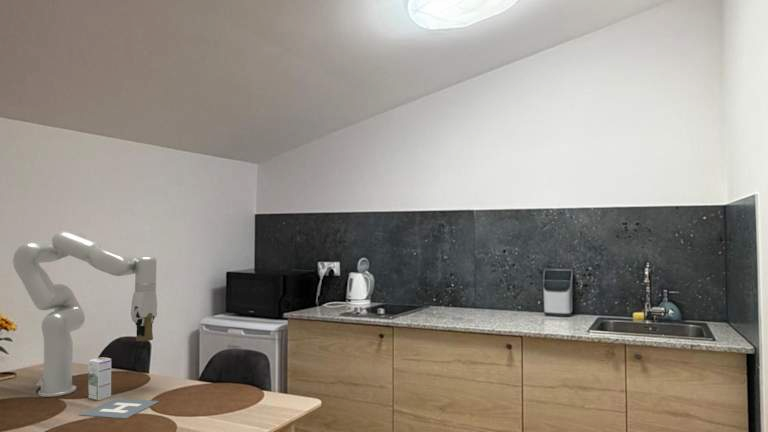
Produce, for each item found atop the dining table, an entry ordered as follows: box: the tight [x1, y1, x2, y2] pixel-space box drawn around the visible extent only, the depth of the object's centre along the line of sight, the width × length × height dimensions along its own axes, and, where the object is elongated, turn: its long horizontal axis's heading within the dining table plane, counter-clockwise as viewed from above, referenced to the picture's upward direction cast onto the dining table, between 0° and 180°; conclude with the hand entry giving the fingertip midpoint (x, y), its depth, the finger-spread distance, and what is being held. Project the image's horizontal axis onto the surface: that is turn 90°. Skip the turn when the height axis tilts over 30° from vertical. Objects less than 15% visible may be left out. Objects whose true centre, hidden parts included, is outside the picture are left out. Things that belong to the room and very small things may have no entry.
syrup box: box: [87, 356, 112, 401], centre depth 194 cm, size 6×6×14 cm
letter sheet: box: [78, 397, 160, 420], centre depth 182 cm, size 18×18×1 cm
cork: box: [135, 313, 154, 342], centre depth 203 cm, size 6×6×11 cm
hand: (144, 334), depth 202 cm, fingers closed on cork, 3 cm apart
